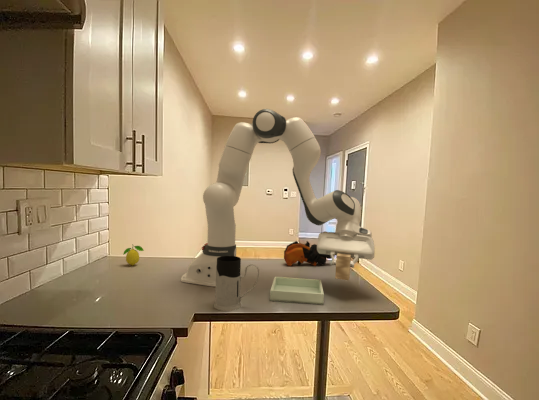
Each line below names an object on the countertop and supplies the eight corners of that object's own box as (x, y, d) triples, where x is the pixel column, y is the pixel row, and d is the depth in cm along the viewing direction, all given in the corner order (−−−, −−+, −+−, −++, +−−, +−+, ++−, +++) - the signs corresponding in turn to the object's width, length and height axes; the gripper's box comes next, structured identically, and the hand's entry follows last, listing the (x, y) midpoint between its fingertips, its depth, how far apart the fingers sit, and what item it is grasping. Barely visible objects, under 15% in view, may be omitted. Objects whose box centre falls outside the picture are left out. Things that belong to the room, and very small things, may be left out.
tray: (270, 300, 100) (270, 290, 100) (274, 285, 116) (274, 276, 115) (323, 304, 98) (323, 294, 98) (320, 288, 114) (320, 279, 114)
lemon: (143, 265, 138) (143, 243, 138) (133, 268, 133) (133, 245, 132) (132, 263, 141) (132, 242, 140) (122, 266, 135) (122, 244, 135)
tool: (323, 281, 146) (335, 253, 146) (281, 264, 142) (294, 235, 142) (318, 276, 154) (329, 249, 154) (278, 259, 150) (290, 232, 150)
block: (335, 278, 103) (336, 255, 103) (336, 275, 108) (337, 253, 107) (348, 280, 102) (349, 257, 102) (349, 276, 106) (350, 254, 106)
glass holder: (218, 298, 100) (219, 254, 100) (260, 302, 98) (261, 257, 98) (209, 309, 92) (210, 261, 91) (255, 313, 90) (257, 264, 89)
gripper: (318, 226, 114) (312, 256, 105) (375, 231, 107) (374, 264, 99) (320, 236, 118) (314, 266, 110) (374, 241, 112) (373, 274, 103)
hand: (343, 265), depth 104 cm, fingers closed on block, 4 cm apart
